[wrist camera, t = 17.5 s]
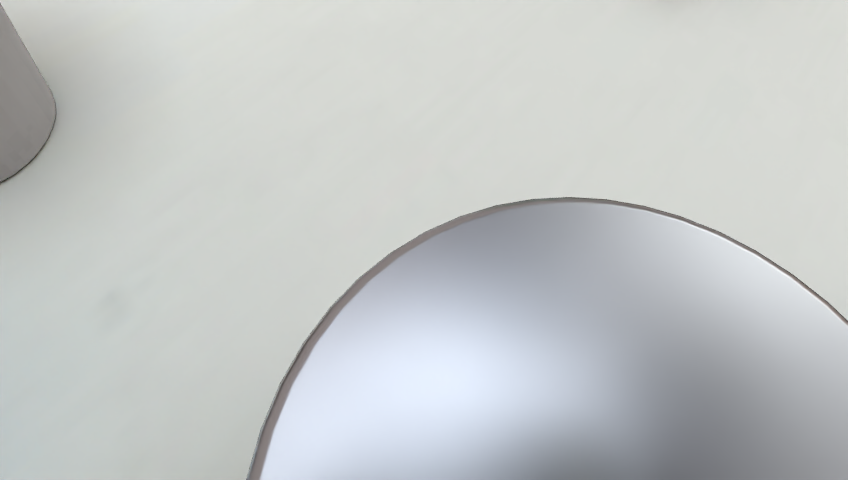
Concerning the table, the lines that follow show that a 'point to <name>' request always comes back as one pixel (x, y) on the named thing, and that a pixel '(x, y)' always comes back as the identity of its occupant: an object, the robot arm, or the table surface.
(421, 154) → the table surface
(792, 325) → the silver-capped orange cylinder
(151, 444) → the table surface
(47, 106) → the coffee cup
